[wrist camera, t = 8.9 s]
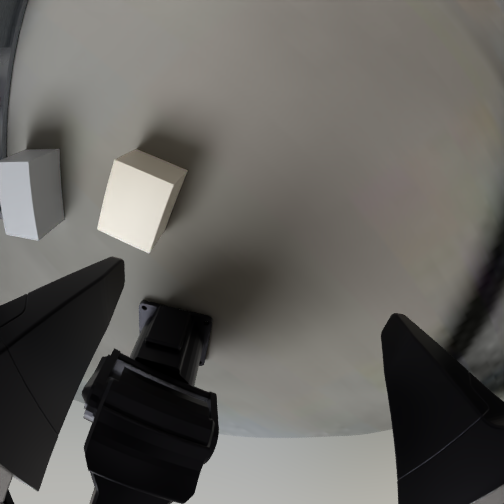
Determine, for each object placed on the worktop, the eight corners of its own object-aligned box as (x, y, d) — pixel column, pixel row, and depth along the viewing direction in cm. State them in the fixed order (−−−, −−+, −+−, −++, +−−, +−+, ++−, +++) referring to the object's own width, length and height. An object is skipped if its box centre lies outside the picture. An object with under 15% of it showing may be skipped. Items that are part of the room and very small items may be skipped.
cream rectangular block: (164, 230, 22) (149, 253, 19) (118, 209, 21) (97, 229, 18) (188, 170, 20) (173, 184, 16) (137, 148, 19) (114, 159, 16)
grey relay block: (65, 218, 22) (38, 240, 18) (33, 214, 21) (6, 234, 18) (60, 148, 19) (28, 161, 15) (26, 149, 19) (-5, 162, 15)
